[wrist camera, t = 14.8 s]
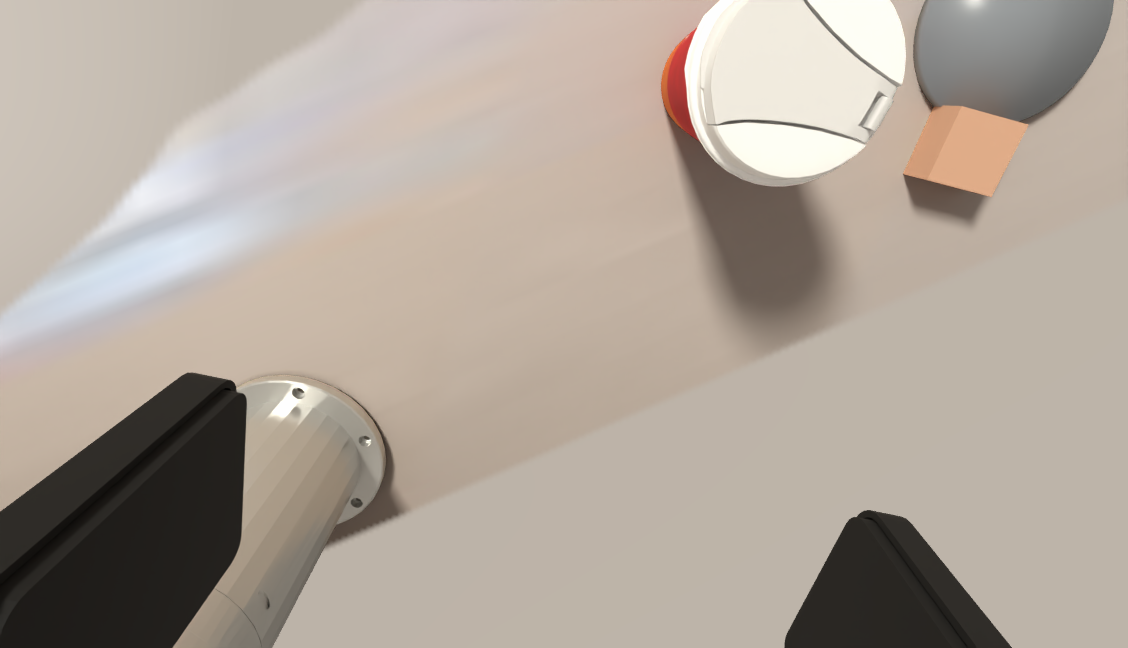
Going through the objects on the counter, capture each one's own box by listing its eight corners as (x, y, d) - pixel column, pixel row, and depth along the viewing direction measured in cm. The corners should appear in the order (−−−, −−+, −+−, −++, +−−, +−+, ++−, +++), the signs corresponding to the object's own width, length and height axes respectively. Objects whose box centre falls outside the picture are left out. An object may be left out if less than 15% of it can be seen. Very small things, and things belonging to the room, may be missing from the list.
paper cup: (803, 42, 32) (969, 9, 19) (736, 173, 34) (841, 223, 22) (677, -20, 31) (761, -101, 18) (617, 121, 33) (653, 140, 20)
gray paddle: (967, -103, 29) (1002, -120, 27) (1139, -49, 30) (1187, -60, 28) (856, 161, 34) (878, 166, 32) (1007, 201, 35) (1038, 209, 33)
